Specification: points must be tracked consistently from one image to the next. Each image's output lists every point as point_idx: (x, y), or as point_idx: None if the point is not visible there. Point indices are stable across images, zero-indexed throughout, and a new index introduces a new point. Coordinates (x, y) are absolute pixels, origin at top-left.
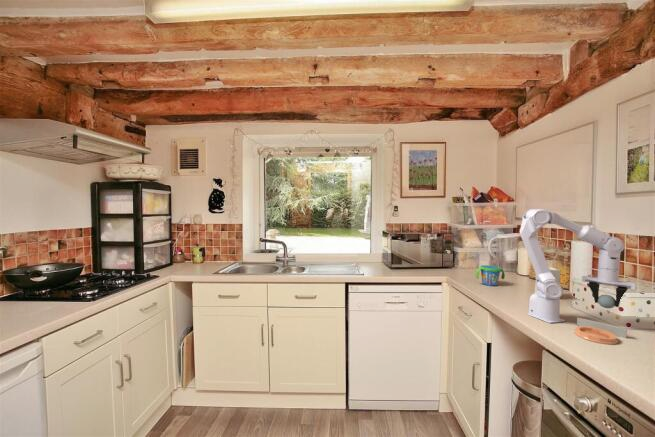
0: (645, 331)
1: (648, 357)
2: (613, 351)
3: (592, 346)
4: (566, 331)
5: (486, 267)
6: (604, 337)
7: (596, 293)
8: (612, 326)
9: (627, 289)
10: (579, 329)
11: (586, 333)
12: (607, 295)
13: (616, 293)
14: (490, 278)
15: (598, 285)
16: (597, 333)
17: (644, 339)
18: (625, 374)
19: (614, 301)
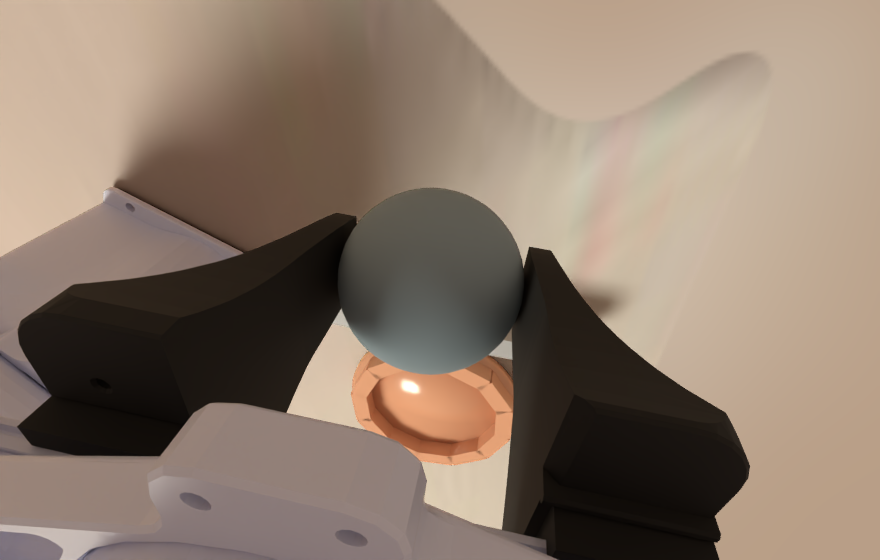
0: (757, 71)
1: None
2: (497, 485)
3: (437, 479)
4: (332, 397)
5: None
6: (468, 408)
7: (301, 375)
8: (498, 354)
9: (724, 472)
10: (370, 411)
11: (403, 445)
12: (418, 360)
13: (510, 483)
14: None
15: (221, 393)
16: (439, 378)
17: (664, 290)
18: None
19: (503, 338)
